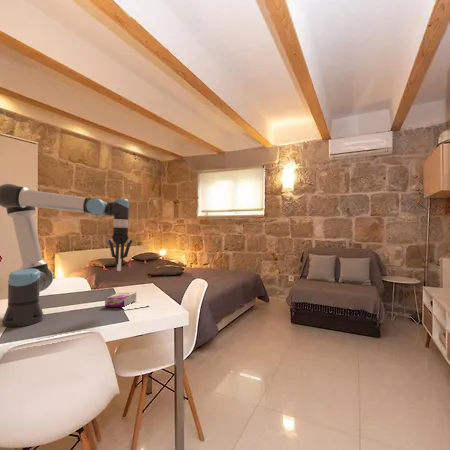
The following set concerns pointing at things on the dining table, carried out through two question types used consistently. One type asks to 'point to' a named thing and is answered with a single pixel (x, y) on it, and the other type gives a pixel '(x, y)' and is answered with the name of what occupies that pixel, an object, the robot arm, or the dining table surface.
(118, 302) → the candy bar box
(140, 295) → the dining table surface
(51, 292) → the dining table surface
